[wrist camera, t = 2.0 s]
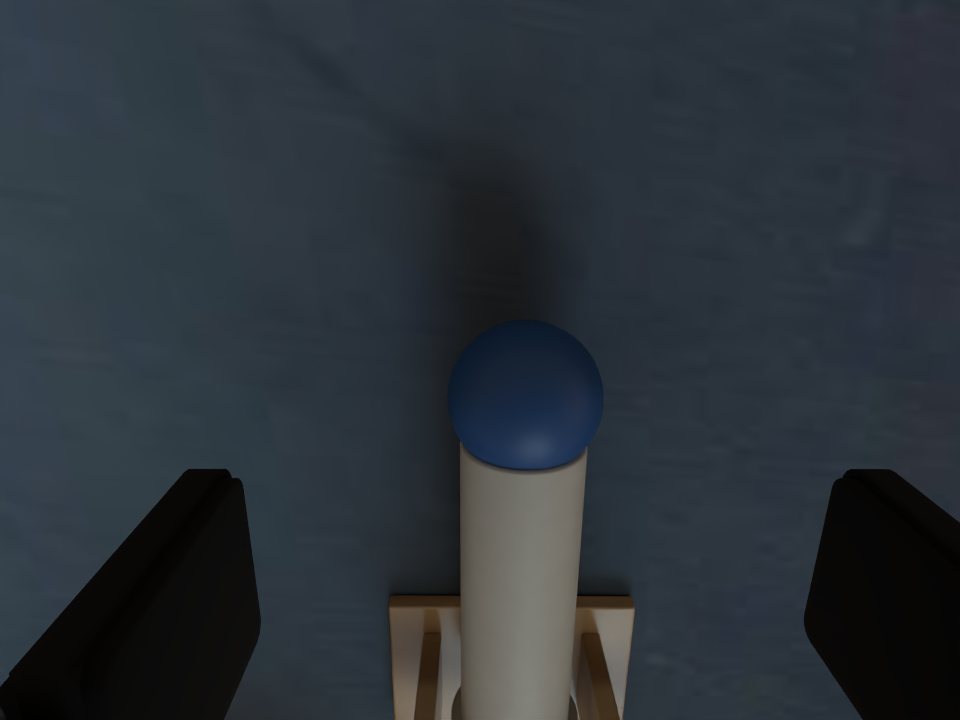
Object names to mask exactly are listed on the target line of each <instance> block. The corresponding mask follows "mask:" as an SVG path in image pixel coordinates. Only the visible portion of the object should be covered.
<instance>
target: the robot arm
mask: <svg viewBox="0 0 960 720" xmlns="http://www.w3.org/2000/svg"><path fill="white" fill-rule="evenodd" d="M260 624H261V618H260V609H259V602H258V594H257V587H256V579H255V572H254V564H253V557H252V549H251V542H250V534H249V527H248V519H247V512H246V504H245V497H244V489H243V484H242V482H241V480H240V479H239V478H232V477H231V474H230V472H229V471H228V470H227V469H188V470H187V471H185V472H184V473H183V474H182V476H181V477H180V478H179V479H178V480H177V481H176V482H175V484H174V485H173V486H172V487H171V488H170V489H169V490H168V492H167V493H166V494H165V495H164V496H163V497H162V498H161V500H160V501H159V502H158V503H157V504H156V505H155V506H154V508H153V509H152V510H151V511H150V512H149V513H148V514H147V516H146V517H145V518H144V519H143V520H142V521H141V523H140V524H139V525H138V526H137V527H136V528H135V529H134V531H133V532H132V533H131V534H130V535H129V536H128V537H127V539H126V540H125V541H124V542H123V543H122V544H121V545H120V547H119V548H118V549H117V550H116V551H115V552H114V553H113V555H112V556H111V557H110V558H109V559H108V560H107V562H106V563H105V564H104V565H103V566H102V567H101V568H100V570H99V571H98V572H97V573H96V574H95V575H94V576H93V578H92V579H91V580H90V581H89V582H88V583H87V584H86V586H85V587H84V588H83V589H82V590H81V591H80V592H79V594H78V595H77V596H76V597H75V598H74V599H73V600H72V602H71V603H70V604H69V605H68V606H67V607H66V609H65V610H64V611H63V612H62V613H61V614H60V615H59V617H58V618H57V619H56V620H55V621H54V622H53V623H52V625H51V626H50V627H49V628H48V629H47V630H46V631H45V633H44V634H43V635H42V636H41V637H40V638H39V639H38V641H37V642H36V643H35V644H34V645H33V646H32V647H31V649H30V650H29V651H28V652H27V653H26V654H25V656H24V657H23V658H22V659H21V660H20V661H19V662H18V664H17V665H16V666H15V667H14V668H13V669H12V670H11V672H10V673H9V675H10V676H9V677H8V679H7V680H6V681H5V682H4V683H3V684H2V685H1V687H0V720H224V718H225V716H226V714H227V711H228V709H229V707H230V704H231V702H232V700H233V697H234V695H235V693H236V690H237V688H238V686H239V683H240V681H241V679H242V676H243V674H244V672H245V669H246V667H247V665H248V662H249V660H250V658H251V655H252V653H253V651H254V648H255V646H256V644H257V641H258V637H259V633H260ZM804 626H805V631H806V634H807V636H808V639H809V640H810V642H811V644H812V645H813V647H814V648H815V650H816V651H817V653H818V654H819V655H820V657H821V658H822V660H823V661H824V663H825V664H826V666H827V667H828V669H829V670H830V672H831V673H832V675H833V676H834V678H835V679H836V681H837V682H838V684H839V685H840V686H841V688H842V689H843V691H844V692H845V694H846V695H847V697H848V698H849V700H850V701H851V703H852V704H853V706H854V707H855V709H856V710H857V712H858V713H859V715H860V716H861V718H862V719H863V720H960V523H959V522H958V521H957V520H956V519H954V518H953V517H952V516H950V515H949V514H948V513H947V512H945V511H944V510H943V509H942V508H940V507H939V506H938V505H936V504H935V503H934V502H933V501H931V500H930V499H929V498H927V497H926V496H925V495H924V494H922V493H921V492H920V491H918V490H917V489H916V488H915V487H913V486H912V485H911V484H909V483H908V482H907V481H906V480H904V479H903V478H902V477H900V476H899V475H898V474H897V473H895V472H893V471H892V470H889V469H850V470H849V471H847V472H846V473H845V474H844V475H843V478H839V479H837V480H836V481H835V482H834V484H833V486H832V490H831V495H830V499H829V504H828V508H827V513H826V517H825V522H824V527H823V531H822V536H821V540H820V545H819V550H818V554H817V559H816V563H815V568H814V573H813V577H812V582H811V586H810V591H809V595H808V600H807V605H806V609H805V614H804Z"/></svg>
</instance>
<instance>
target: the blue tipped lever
mask: <svg viewBox="0 0 960 720" xmlns="http://www.w3.org/2000/svg"><path fill="white" fill-rule="evenodd" d="M448 410H449V414H450V419H451V422H452V424H453V427H454V429H455V432H456V434H457V435H458V437H459V439H460V568H461V686H460V688H459V689H458V691H457V693H456V695H455V697H454V700H453V704H452V709H451V720H578V713H577V709H576V705H575V703H574V700H573V698H572V696H571V694H570V684H571V671H572V657H573V643H574V629H575V615H576V601H577V587H578V573H579V559H580V545H581V531H582V517H583V504H584V490H585V476H586V462H587V446H588V444H589V443H590V441H591V440H592V438H593V437H594V435H595V433H596V430H597V428H598V426H599V423H600V420H601V416H602V411H603V385H602V380H601V377H600V373H599V370H598V368H597V366H596V364H595V361H594V360H593V358H592V357H591V355H590V353H589V352H588V351H587V350H586V348H585V347H584V346H583V345H582V344H581V343H580V342H579V341H578V340H577V339H576V338H575V337H574V336H572V335H571V334H569V333H568V332H566V331H565V330H563V329H561V328H559V327H557V326H554V325H552V324H549V323H546V322H541V321H536V320H515V321H510V322H505V323H502V324H499V325H496V326H494V327H492V328H490V329H488V330H486V331H484V332H483V333H481V334H480V335H478V336H477V337H476V338H475V339H474V340H472V342H471V343H470V344H469V345H468V346H467V347H466V348H465V349H464V350H463V352H462V353H461V355H460V356H459V358H458V360H457V361H456V363H455V365H454V368H453V371H452V374H451V377H450V381H449V386H448Z"/></svg>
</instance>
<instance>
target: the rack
mask: <svg viewBox="0 0 960 720" xmlns="http://www.w3.org/2000/svg"><path fill="white" fill-rule="evenodd" d="M634 614H635V607H634V604H633V601H632V598H631V597H630V596H577V601H576V615H575V629H574V643H573V657H572V671H571V684H570V694H571V696H572V698H573V700H574V703H575V705H576V709H577V713H578V720H623V713H624V704H625V695H626V686H627V677H628V668H629V659H630V650H631V641H632V632H633V623H634ZM389 622H390V642H391V661H392V680H393V700H394V719H395V720H451V709H452V704H453V700H454V697H455V695H456V693H457V691H458V689H459V688H460V686H461V596H417V595H393V596H391V598H390V603H389Z"/></svg>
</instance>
